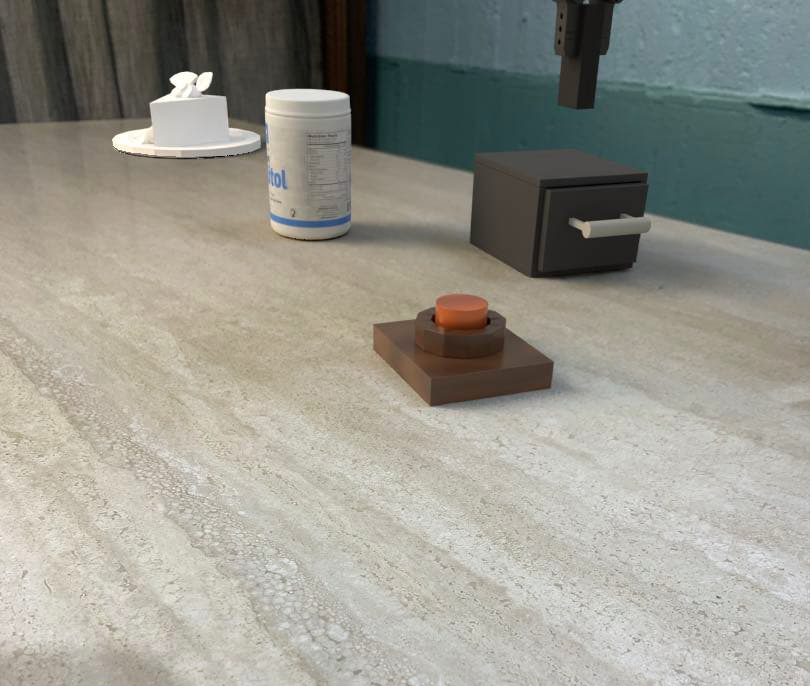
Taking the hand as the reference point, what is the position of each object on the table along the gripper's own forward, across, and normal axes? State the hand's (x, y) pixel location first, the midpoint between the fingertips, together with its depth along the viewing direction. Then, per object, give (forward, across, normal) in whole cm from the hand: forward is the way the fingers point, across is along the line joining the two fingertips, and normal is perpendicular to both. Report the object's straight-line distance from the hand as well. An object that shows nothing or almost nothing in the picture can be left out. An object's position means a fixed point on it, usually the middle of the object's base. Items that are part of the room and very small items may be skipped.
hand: (575, 106), depth 64 cm
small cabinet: (+18, +14, +24) cm, 33 cm away
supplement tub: (+18, -8, +41) cm, 46 cm away
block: (+18, -10, -3) cm, 21 cm away
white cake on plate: (+18, -11, +103) cm, 105 cm away
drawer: (+17, +14, +20) cm, 29 cm away
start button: (+14, -10, -3) cm, 18 cm away
